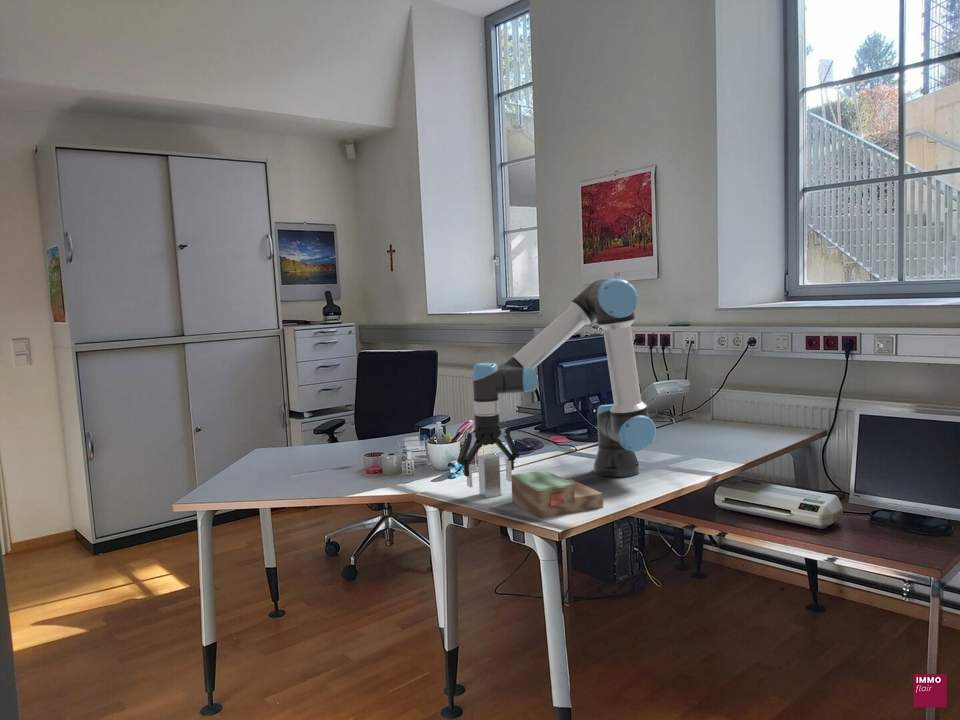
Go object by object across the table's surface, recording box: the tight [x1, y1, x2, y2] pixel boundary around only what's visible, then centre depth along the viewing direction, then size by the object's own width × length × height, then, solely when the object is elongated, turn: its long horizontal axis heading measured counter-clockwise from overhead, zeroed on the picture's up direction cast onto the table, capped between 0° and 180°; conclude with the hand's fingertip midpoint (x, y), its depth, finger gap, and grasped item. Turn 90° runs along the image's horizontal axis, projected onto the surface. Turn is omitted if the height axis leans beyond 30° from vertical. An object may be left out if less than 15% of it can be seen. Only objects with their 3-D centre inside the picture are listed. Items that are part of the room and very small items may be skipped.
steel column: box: [477, 453, 502, 499], centre depth 222 cm, size 5×5×12 cm
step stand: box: [511, 469, 604, 519], centre depth 209 cm, size 20×19×8 cm
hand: (489, 483), depth 223 cm, fingers open, 12 cm apart
